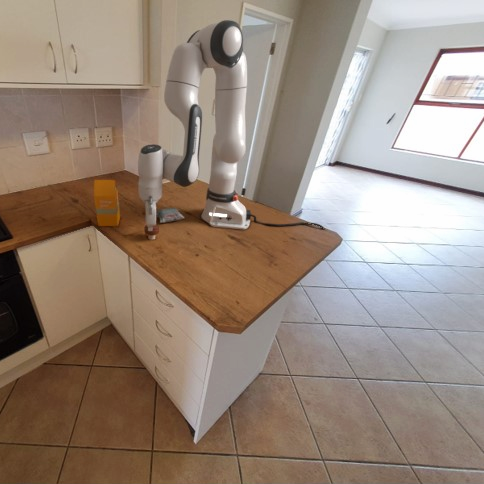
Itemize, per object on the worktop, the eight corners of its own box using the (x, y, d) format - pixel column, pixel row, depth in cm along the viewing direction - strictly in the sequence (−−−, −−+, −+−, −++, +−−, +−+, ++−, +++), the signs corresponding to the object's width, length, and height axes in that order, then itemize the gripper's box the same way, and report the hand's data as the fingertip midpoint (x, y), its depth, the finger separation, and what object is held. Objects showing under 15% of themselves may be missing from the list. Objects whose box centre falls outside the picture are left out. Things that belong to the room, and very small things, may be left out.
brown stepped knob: (158, 233, 106) (158, 221, 103) (159, 241, 101) (159, 228, 98) (144, 234, 106) (144, 221, 103) (144, 242, 101) (144, 229, 98)
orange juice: (117, 226, 111) (113, 183, 100) (97, 226, 111) (91, 182, 99) (120, 218, 117) (116, 176, 106) (101, 217, 117) (95, 176, 106)
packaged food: (184, 222, 115) (185, 212, 112) (160, 226, 112) (160, 216, 109) (177, 214, 122) (178, 205, 119) (154, 217, 118) (154, 208, 116)
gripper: (160, 203, 84) (159, 238, 92) (157, 182, 101) (156, 212, 109) (141, 203, 84) (142, 238, 91) (141, 181, 101) (141, 212, 108)
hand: (149, 224), depth 100 cm, fingers open, 8 cm apart
